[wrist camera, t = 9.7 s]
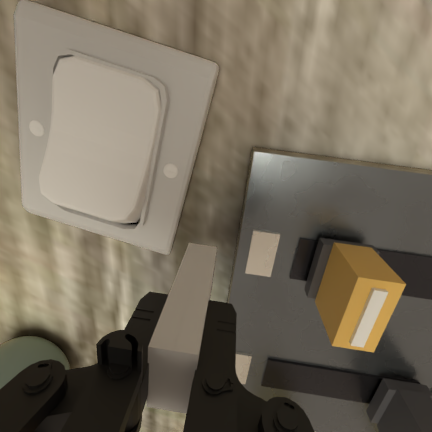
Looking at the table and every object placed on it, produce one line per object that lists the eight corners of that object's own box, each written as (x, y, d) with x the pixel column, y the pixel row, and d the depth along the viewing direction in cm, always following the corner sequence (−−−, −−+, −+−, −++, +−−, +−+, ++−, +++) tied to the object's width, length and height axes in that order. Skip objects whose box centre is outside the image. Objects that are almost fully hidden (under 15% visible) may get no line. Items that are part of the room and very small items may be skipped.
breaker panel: (252, 146, 16) (254, 152, 14) (563, 187, 15) (613, 199, 13) (212, 390, 24) (209, 415, 22) (411, 423, 24) (427, 453, 22)
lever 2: (384, 376, 18) (421, 447, 15) (427, 383, 18) (477, 456, 14) (365, 412, 20) (394, 485, 16) (405, 419, 20) (445, 494, 16)
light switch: (-9, 230, 17) (-36, -26, 11) (38, 205, 20) (36, 4, 15) (157, 281, 17) (213, 57, 11) (173, 247, 21) (221, 65, 15)
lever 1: (320, 234, 15) (348, 278, 11) (374, 242, 15) (421, 289, 11) (303, 291, 16) (322, 347, 13) (351, 298, 16) (386, 357, 12)
